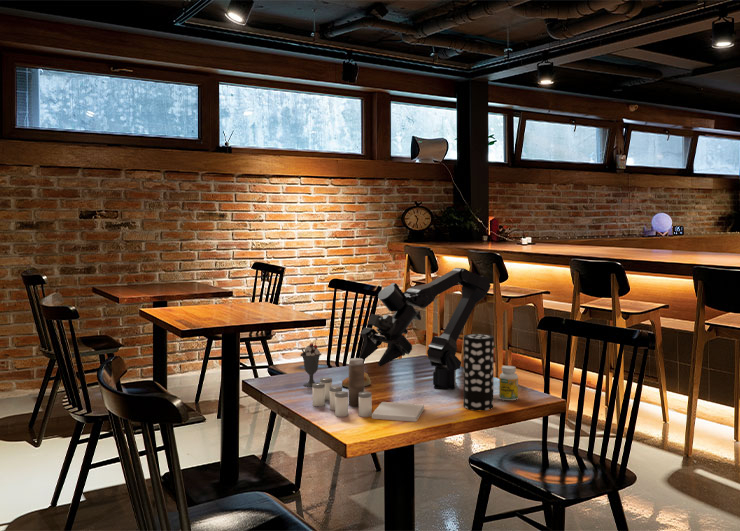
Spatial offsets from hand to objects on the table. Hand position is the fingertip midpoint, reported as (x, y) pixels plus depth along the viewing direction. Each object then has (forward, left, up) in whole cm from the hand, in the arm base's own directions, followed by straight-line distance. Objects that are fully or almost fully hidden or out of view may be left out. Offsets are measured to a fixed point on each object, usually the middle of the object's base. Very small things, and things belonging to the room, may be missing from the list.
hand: (369, 362), depth 188 cm
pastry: (+9, -18, -12) cm, 23 cm away
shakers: (+7, +8, -12) cm, 16 cm away
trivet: (-11, +10, -11) cm, 18 cm away
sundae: (+23, -14, -12) cm, 30 cm away
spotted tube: (-31, -2, -12) cm, 33 cm away
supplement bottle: (-39, -12, -12) cm, 43 cm away
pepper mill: (+3, +4, -11) cm, 12 cm away
